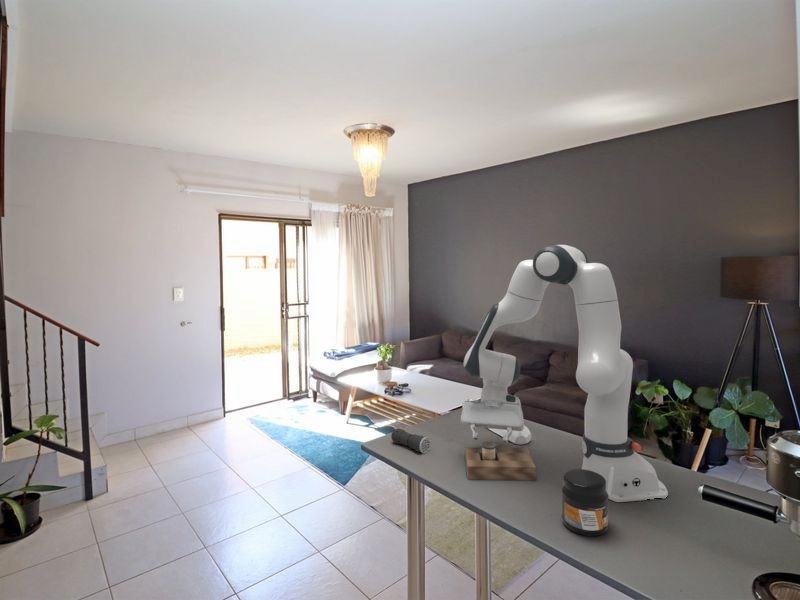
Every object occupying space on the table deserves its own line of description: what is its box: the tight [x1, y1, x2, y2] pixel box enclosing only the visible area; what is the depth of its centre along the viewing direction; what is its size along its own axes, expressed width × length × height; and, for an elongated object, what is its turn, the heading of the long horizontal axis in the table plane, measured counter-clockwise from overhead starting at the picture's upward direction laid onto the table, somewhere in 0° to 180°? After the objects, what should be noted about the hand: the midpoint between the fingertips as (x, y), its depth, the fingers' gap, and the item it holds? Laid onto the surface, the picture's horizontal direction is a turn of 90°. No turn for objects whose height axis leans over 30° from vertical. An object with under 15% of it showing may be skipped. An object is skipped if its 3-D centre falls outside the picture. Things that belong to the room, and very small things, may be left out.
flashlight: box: [391, 428, 432, 454], centre depth 155 cm, size 15×5×5 cm, turn 44°
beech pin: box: [481, 441, 496, 461], centre depth 136 cm, size 4×4×8 cm
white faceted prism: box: [487, 424, 532, 445], centre depth 165 cm, size 7×7×24 cm
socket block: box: [464, 446, 537, 481], centre depth 136 cm, size 20×14×4 cm
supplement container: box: [560, 468, 609, 537], centre depth 105 cm, size 10×10×12 cm
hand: (490, 440), depth 137 cm, fingers open, 8 cm apart
